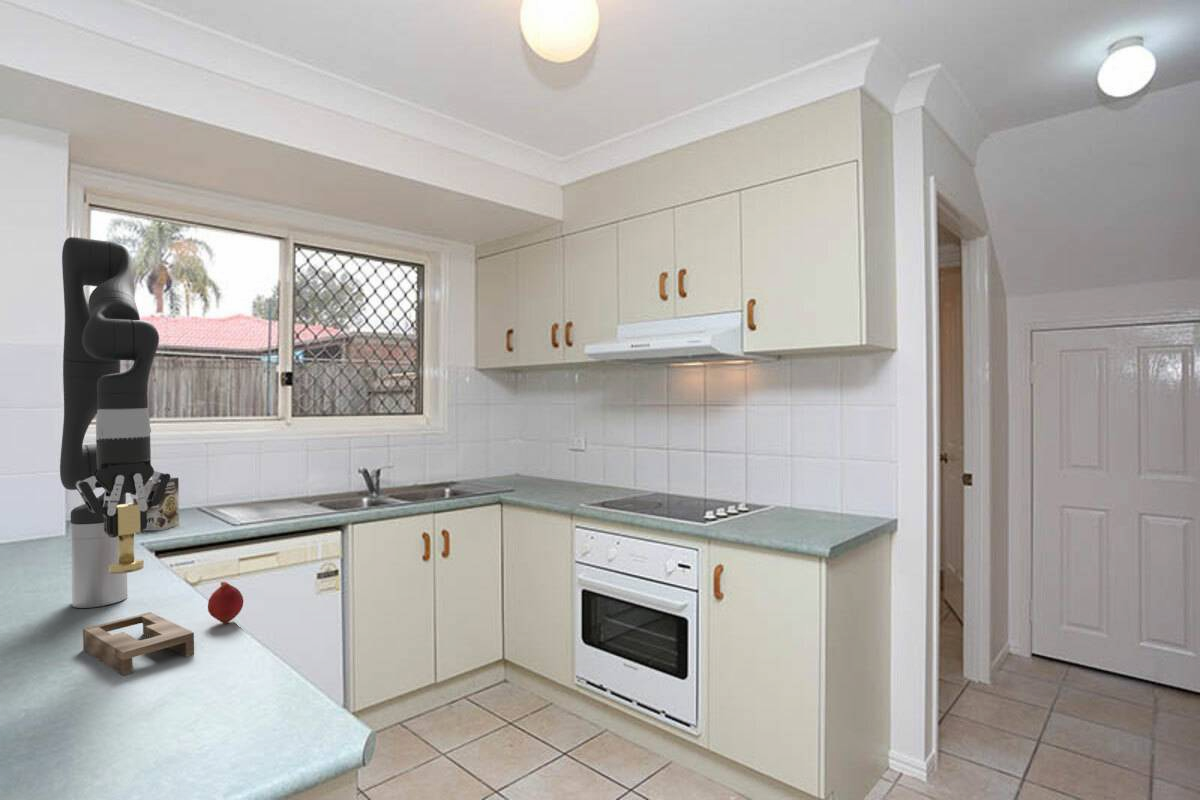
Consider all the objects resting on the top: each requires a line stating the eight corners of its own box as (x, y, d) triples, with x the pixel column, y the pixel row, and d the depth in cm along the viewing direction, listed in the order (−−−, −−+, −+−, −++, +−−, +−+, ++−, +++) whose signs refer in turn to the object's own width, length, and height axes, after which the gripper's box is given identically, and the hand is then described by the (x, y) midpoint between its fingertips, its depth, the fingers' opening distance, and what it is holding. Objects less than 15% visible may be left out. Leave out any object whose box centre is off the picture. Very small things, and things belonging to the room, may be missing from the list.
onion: (236, 615, 126) (235, 575, 126) (248, 622, 123) (248, 580, 122) (203, 624, 122) (202, 581, 122) (215, 631, 118) (214, 587, 118)
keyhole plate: (83, 649, 110) (82, 628, 110) (150, 631, 118) (150, 612, 118) (123, 675, 99) (122, 652, 99) (194, 653, 108) (193, 632, 108)
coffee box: (161, 530, 207) (160, 480, 207) (141, 531, 207) (140, 481, 207) (180, 525, 216) (179, 477, 216) (161, 525, 216) (160, 477, 216)
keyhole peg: (104, 570, 111) (103, 505, 111) (137, 564, 115) (136, 501, 114) (115, 575, 108) (114, 508, 108) (148, 568, 112) (147, 504, 112)
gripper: (161, 432, 119) (163, 525, 119) (65, 437, 107) (67, 540, 108) (178, 433, 115) (180, 530, 115) (80, 438, 103) (82, 545, 103)
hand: (125, 534), depth 111 cm, fingers closed on keyhole peg, 3 cm apart
